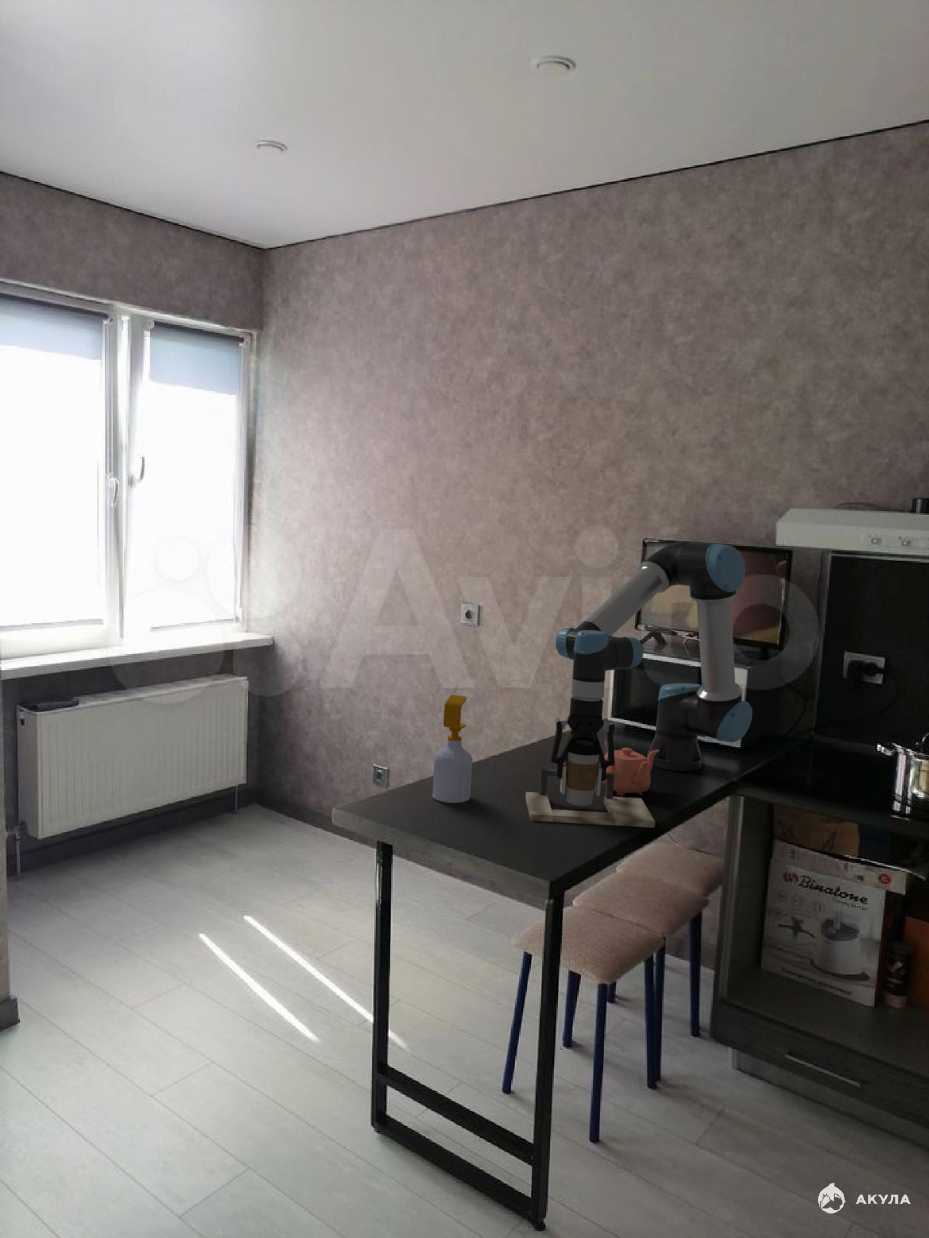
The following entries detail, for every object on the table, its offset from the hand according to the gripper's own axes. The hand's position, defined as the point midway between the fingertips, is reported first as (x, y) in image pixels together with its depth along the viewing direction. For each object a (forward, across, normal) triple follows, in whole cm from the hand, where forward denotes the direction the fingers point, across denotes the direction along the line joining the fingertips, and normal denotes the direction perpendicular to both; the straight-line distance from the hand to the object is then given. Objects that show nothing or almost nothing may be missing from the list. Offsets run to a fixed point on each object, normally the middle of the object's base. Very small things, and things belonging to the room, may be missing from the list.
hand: (579, 792), depth 214 cm
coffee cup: (+2, 0, 0) cm, 2 cm away
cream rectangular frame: (+4, -2, +2) cm, 5 cm away
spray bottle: (+4, +30, -3) cm, 31 cm away
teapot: (+4, -15, -17) cm, 23 cm away
